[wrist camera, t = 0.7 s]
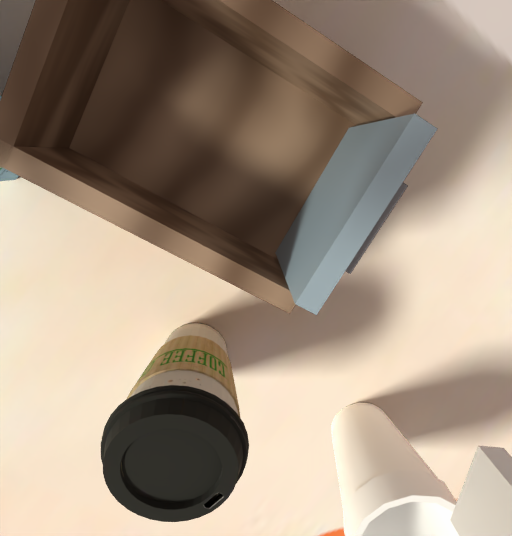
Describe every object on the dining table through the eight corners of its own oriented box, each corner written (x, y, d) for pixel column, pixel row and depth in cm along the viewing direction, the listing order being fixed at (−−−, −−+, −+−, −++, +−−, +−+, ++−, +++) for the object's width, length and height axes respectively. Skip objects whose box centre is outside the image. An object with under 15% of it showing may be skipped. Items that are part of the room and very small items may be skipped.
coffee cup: (193, 285, 36) (164, 373, 22) (264, 349, 39) (281, 467, 24) (125, 352, 38) (58, 474, 24) (198, 409, 40) (177, 552, 26)
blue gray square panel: (275, 252, 34) (295, 304, 22) (349, 127, 31) (414, 113, 20) (297, 264, 34) (327, 320, 23) (371, 142, 31) (449, 136, 20)
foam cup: (301, 415, 41) (330, 530, 29) (377, 375, 40) (441, 475, 28) (341, 474, 44) (383, 601, 31) (414, 437, 43) (487, 554, 30)
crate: (52, 155, 32) (-20, 156, 23) (131, -40, 28) (81, -129, 19) (276, 273, 36) (289, 313, 27) (370, 116, 32) (422, 102, 23)
